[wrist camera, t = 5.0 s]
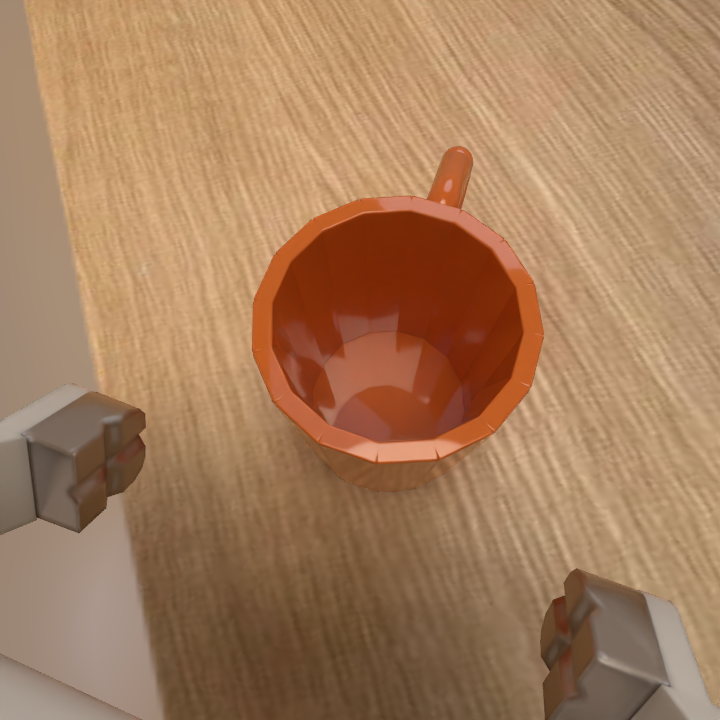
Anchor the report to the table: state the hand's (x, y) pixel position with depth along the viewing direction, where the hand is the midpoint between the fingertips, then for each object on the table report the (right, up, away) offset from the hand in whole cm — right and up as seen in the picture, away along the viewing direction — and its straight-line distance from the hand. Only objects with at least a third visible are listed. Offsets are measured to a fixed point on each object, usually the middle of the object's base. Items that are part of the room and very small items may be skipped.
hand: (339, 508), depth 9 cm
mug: (+2, +2, +10) cm, 10 cm away
